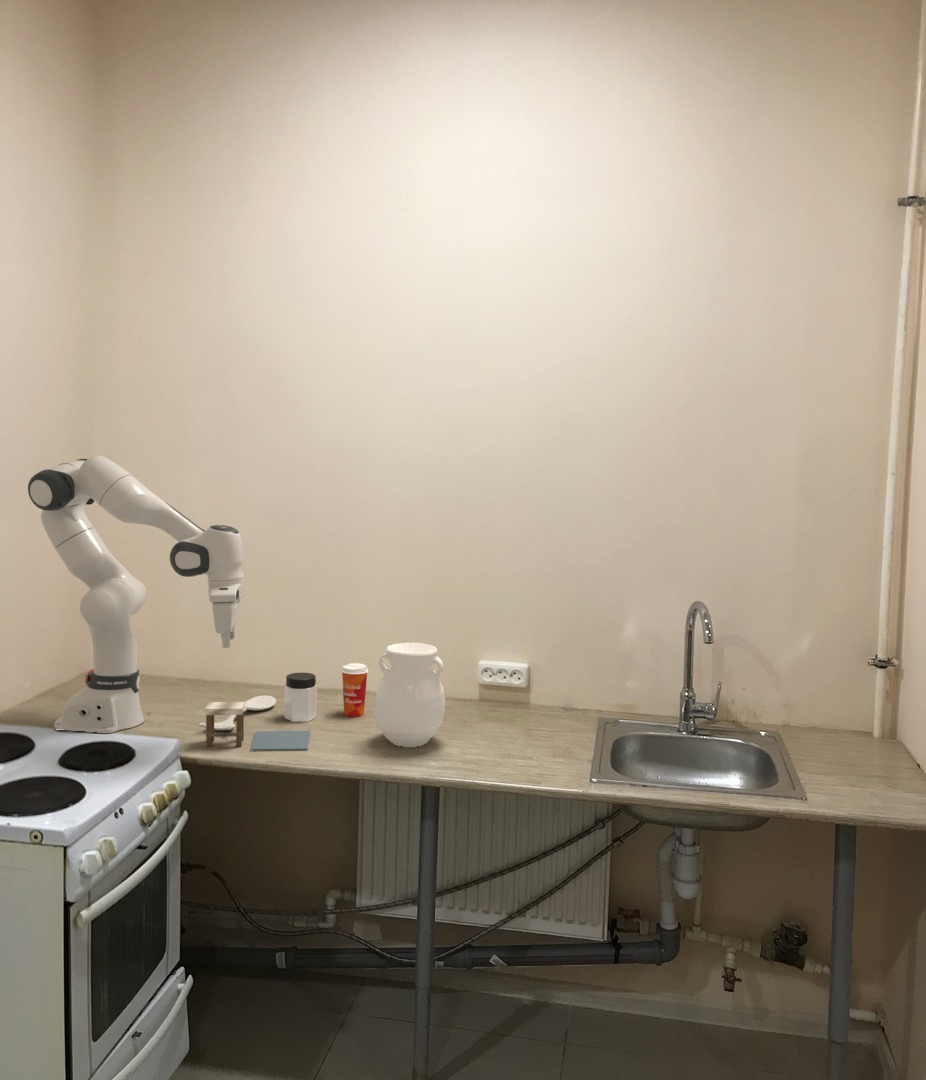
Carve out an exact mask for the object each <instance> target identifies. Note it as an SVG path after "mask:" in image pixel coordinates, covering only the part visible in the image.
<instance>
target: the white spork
mask: <svg viewBox="0 0 926 1080" xmlns="http://www.w3.org/2000/svg"><path fill="white" fill-rule="evenodd" d="M244 702H245V708H244V713H245V712H246V711H248V710H249V711H263V710H267V709H269V708H271V707H274V706H275V704H276V703H277V699H276V698H275V697H274V696H272V695H266V694H265V695H263V694H262V695H258V696H254V697H252V698H248V699H247V700H245V701H244ZM235 718H236V715H228V717H227V718H226V719H225V720H223V721H218V722H214V731H231V730H232V729H233V728H235V727H236V725H235V724H234V720H235ZM198 727H199V728H200V727H201V728H205V729H206V722H200V723H199V724H198Z"/></svg>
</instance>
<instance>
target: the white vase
mask: <svg viewBox="0 0 926 1080" xmlns="http://www.w3.org/2000/svg"><path fill="white" fill-rule="evenodd" d="M385 650H386V651H385V653H384V654H382V655H381V656H380V657H379V658H378V666H379V668H380V670H381V672H382V674H383V677H382V678H381V681H380V682H379V683H378V687H377V690H376V692H375V695H374V700H373V717H374V721H375V723H376V726H377V727H378V728H379V730H380V731H381V733H382V734H383V736H384V737H386V739H387V740H388V741H389V742H390V743H391V744H392V743H393V744H392V745H393V746H396V745H397V746H396V747H400V746H403V747H402V748H410V747H411V748H418V747H417V746H419V747H423V746H425V745H426V744H427V743H429V740H431V738H432V737H433V736H434V735H435V733H437V730H438V729H439V728H440V726H441V724H442V722H443V719H444V716H445V711H446V710H445V709H446V698H445V689H444V687H443V684H442V682H441V679H440V676H441V674H442V673H443V671H444V668H445V666H444V663H443V660H442V659H441V658H440V657H439V656H438V652H439V651H438V648H437V647H436V646H434V645H432V644H427V643H423V642H400V643H398V642H397V643H393V644H390V645H388V646H387V647H386V648H385ZM385 659H387V660H388V662H389V664H390V668H388V667H387V665H385ZM434 664H436V666H437V668H438V670H437V671H435V669H434V668H433V667H434ZM424 744H425V745H424ZM422 745H423V746H422Z"/></svg>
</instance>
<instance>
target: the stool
mask: <svg viewBox="0 0 926 1080" xmlns="http://www.w3.org/2000/svg"><path fill="white" fill-rule="evenodd" d="M245 702H246V701H208V703H207V705H206V707H205V711H204V713H205V717H206V718H205V720H206V721H205V723H206V728H205V729H206V731H205V734H206V735H205V739H206V741H205V746H206V748H212V746H213V742H214V741H215V737H216V738H217V737H218V738H220V737H222V738H224V737H231V738H232V737H233V738H234V737H236V739H235V743H236V744H235V746H236V748H242V745H243V744H242V743H243V742H244V730H245V729H244V728H245V727H244V725H245V723H244V721H245V719H244V717H245V715H244V713H245V712H244V708H245ZM230 715H236V716H235V718H236V722H235V724H236V725H235V727H236V729H235V730H236V732H215V729H214V723H215V716H230Z"/></svg>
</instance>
